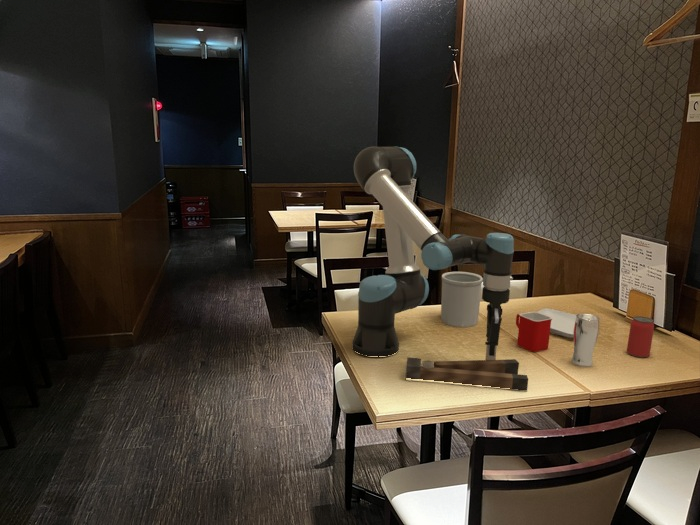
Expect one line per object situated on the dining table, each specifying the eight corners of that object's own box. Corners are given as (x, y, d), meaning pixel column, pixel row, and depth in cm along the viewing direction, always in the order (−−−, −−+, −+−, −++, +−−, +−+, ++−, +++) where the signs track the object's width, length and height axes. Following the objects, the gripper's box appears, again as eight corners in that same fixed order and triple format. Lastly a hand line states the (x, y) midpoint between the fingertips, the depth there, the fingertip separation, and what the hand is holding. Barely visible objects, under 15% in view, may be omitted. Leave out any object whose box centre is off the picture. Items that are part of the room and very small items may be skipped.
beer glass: (587, 358, 162) (593, 313, 159) (598, 367, 156) (605, 320, 152) (565, 358, 162) (571, 313, 159) (575, 367, 155) (581, 320, 152)
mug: (551, 348, 169) (554, 318, 167) (533, 353, 166) (536, 322, 163) (523, 336, 180) (526, 307, 177) (506, 340, 176) (508, 310, 174)
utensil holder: (471, 330, 184) (475, 283, 180) (433, 322, 192) (435, 277, 188) (484, 319, 197) (488, 275, 193) (447, 312, 204) (450, 269, 200)
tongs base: (405, 380, 145) (406, 365, 144) (406, 371, 151) (407, 356, 150) (527, 391, 140) (528, 375, 139) (523, 381, 146) (525, 366, 145)
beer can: (637, 359, 162) (643, 323, 160) (621, 351, 169) (626, 316, 166) (654, 357, 164) (660, 321, 161) (638, 349, 170) (643, 314, 168)
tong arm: (435, 376, 148) (436, 364, 147) (433, 372, 150) (434, 361, 149) (517, 374, 150) (518, 362, 149) (514, 370, 152) (515, 359, 152)
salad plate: (517, 326, 191) (517, 317, 190) (545, 314, 204) (546, 306, 204) (572, 343, 175) (574, 334, 174) (599, 329, 189) (601, 320, 188)
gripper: (513, 294, 140) (506, 374, 145) (506, 282, 152) (500, 356, 158) (485, 293, 141) (479, 372, 147) (480, 280, 154) (475, 354, 159)
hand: (490, 363), depth 152 cm, fingers closed
